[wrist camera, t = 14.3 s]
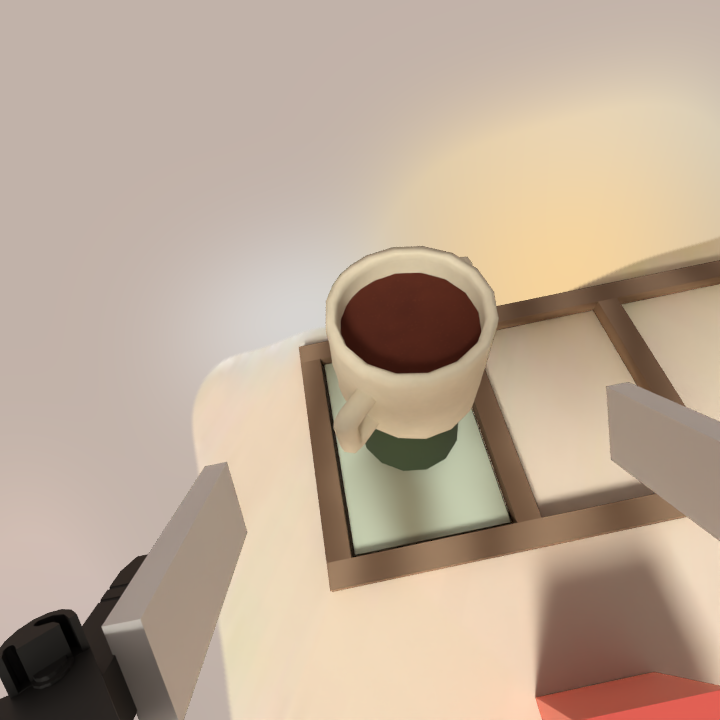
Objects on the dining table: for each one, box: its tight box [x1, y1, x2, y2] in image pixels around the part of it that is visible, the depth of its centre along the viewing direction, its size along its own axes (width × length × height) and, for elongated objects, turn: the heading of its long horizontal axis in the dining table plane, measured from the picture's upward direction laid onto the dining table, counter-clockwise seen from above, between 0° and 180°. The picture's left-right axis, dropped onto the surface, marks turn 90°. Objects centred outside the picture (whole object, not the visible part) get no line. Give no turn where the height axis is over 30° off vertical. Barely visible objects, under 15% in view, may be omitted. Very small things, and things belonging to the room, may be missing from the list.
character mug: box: [326, 246, 499, 471], centre depth 23 cm, size 11×7×13 cm, turn 145°
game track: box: [299, 260, 720, 592], centre depth 29 cm, size 34×16×1 cm, turn 100°
